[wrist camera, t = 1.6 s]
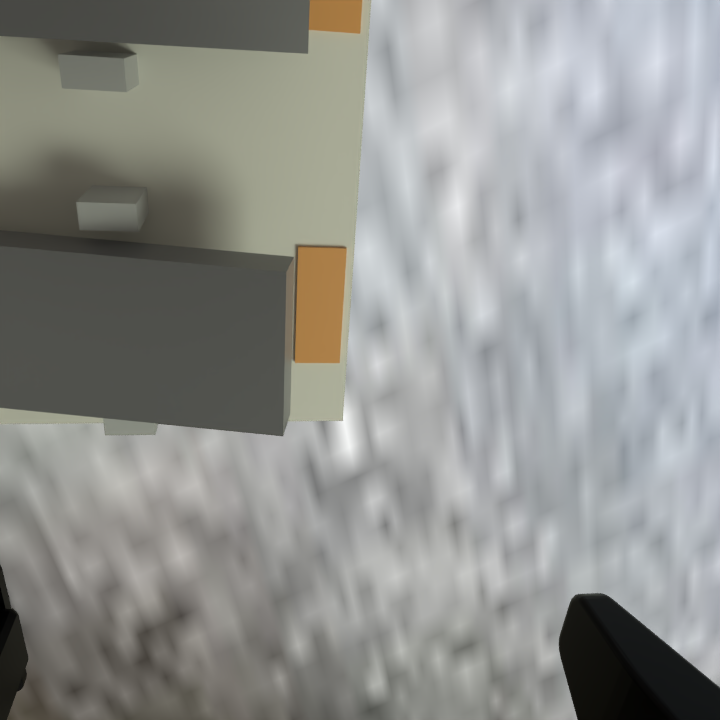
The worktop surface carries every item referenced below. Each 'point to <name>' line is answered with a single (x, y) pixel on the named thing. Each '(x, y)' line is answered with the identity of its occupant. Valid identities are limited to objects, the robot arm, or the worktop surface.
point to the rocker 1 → (164, 22)
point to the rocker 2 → (146, 332)
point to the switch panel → (200, 167)
